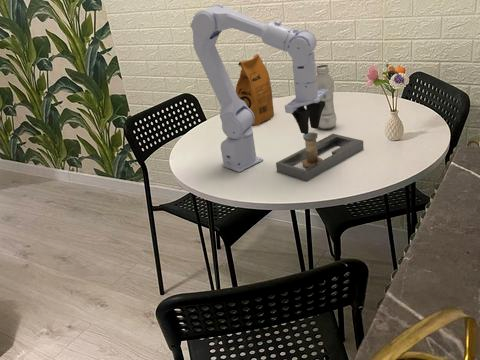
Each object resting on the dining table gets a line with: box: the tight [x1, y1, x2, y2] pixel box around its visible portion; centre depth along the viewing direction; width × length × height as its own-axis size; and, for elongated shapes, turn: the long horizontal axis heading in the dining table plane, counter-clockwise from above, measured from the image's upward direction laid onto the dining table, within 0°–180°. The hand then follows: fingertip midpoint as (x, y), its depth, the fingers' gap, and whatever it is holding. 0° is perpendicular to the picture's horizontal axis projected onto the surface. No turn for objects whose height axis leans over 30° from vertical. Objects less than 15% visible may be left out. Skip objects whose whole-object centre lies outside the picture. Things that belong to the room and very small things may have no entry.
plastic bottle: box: [316, 64, 337, 130], centre depth 160 cm, size 6×7×20 cm
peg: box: [301, 131, 323, 169], centre depth 139 cm, size 6×6×9 cm
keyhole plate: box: [275, 133, 365, 182], centre depth 142 cm, size 24×11×3 cm, turn 131°
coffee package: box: [235, 53, 275, 127], centre depth 176 cm, size 10×12×22 cm
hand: (309, 130), depth 136 cm, fingers open, 3 cm apart
